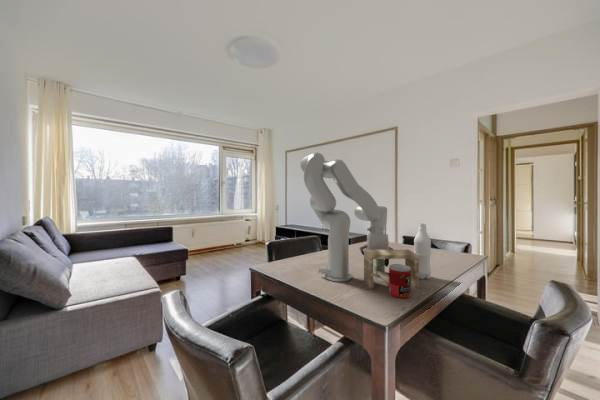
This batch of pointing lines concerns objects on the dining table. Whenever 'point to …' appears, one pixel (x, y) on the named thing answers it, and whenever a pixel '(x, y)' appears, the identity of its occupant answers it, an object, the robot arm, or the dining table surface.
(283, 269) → the dining table surface
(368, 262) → the oak shelf
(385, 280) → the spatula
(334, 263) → the robot arm
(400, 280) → the canned food
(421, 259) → the water bottle
